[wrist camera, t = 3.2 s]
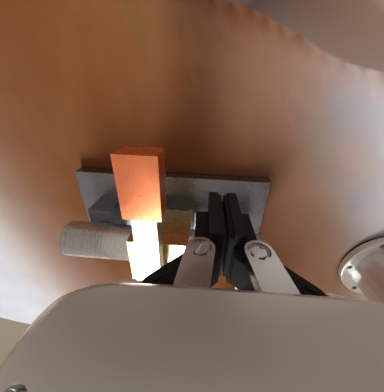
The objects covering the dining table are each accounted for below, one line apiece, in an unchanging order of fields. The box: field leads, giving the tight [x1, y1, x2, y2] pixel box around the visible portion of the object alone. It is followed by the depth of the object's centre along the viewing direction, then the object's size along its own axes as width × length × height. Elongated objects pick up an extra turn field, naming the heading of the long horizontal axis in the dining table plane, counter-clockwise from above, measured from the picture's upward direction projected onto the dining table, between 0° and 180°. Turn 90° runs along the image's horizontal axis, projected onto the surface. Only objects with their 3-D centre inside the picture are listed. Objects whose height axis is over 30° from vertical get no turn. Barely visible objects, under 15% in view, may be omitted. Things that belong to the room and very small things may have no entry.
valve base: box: [60, 168, 271, 281], centre depth 26 cm, size 26×14×10 cm, turn 88°
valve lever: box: [110, 146, 167, 280], centre depth 17 cm, size 14×3×3 cm, turn 178°
